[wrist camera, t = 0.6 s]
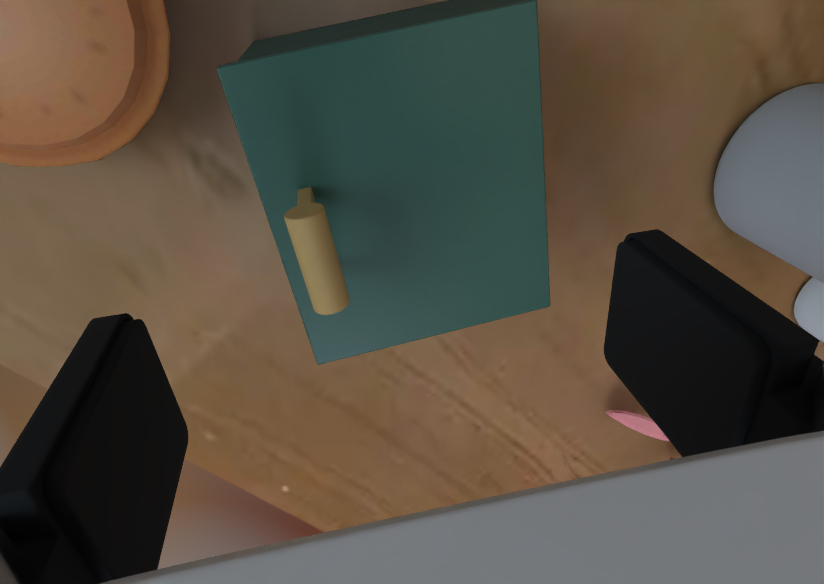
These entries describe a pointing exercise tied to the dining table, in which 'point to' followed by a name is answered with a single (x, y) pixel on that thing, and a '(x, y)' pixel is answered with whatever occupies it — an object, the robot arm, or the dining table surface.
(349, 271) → the bread bin lid
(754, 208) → the cylinder vase
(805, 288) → the milk bottle
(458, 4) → the bread bin
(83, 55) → the pie
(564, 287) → the dining table surface
